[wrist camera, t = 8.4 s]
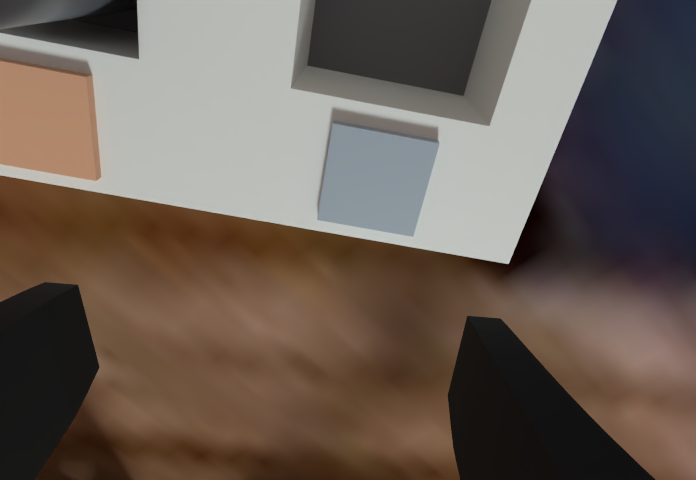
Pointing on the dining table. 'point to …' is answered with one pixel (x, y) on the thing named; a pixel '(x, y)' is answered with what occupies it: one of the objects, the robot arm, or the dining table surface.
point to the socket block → (307, 110)
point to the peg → (56, 10)
